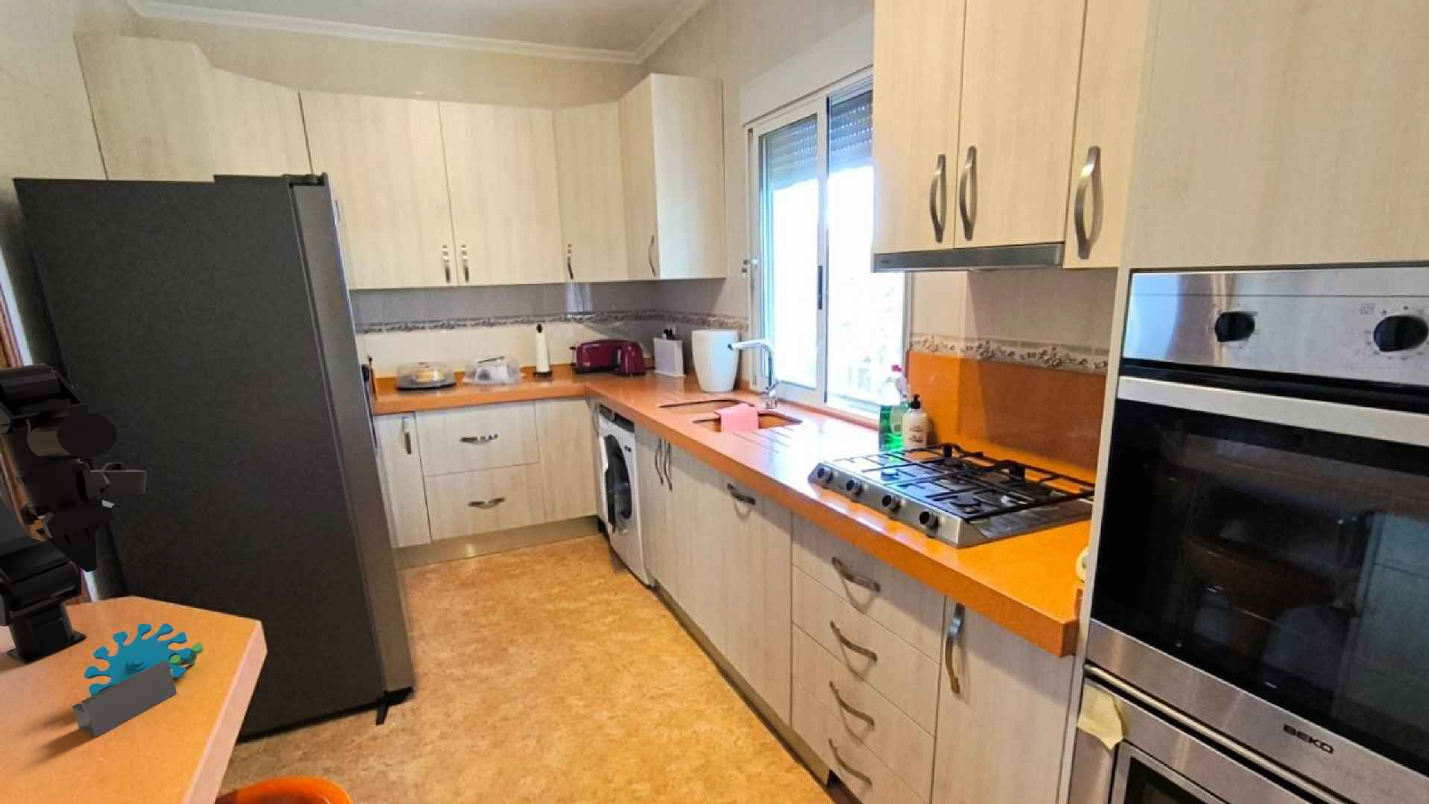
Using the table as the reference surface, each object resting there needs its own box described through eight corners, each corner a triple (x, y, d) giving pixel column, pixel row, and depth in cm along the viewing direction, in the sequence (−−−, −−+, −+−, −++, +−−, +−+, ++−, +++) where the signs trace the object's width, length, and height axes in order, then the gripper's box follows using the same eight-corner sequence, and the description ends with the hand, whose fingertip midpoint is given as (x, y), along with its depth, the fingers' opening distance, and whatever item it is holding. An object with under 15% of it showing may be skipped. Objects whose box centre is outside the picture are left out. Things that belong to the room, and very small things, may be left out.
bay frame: (79, 728, 71) (68, 695, 70) (159, 686, 78) (150, 655, 77) (95, 737, 70) (85, 703, 69) (177, 693, 76) (168, 662, 76)
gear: (75, 714, 71) (89, 630, 76) (90, 725, 75) (102, 645, 80) (198, 687, 77) (203, 611, 82) (205, 699, 81) (210, 626, 86)
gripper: (148, 444, 80) (188, 552, 83) (110, 440, 91) (147, 536, 94) (25, 474, 71) (76, 593, 74) (0, 466, 82) (45, 571, 85)
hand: (91, 570), depth 82 cm, fingers closed
